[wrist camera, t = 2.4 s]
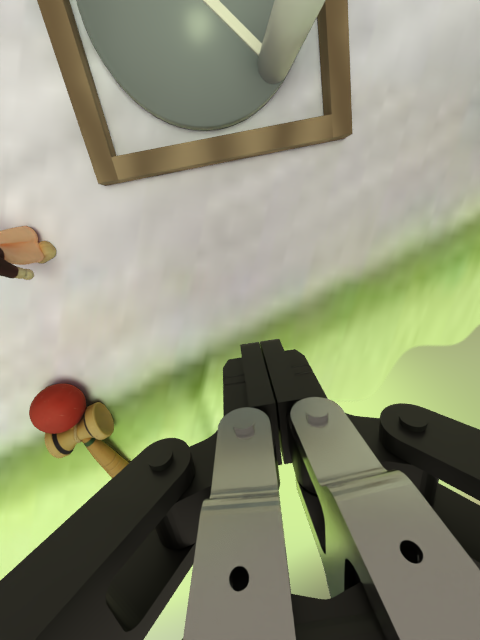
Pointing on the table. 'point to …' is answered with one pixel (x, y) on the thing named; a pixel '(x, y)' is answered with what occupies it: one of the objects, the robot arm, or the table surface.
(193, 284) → the table surface
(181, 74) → the dial
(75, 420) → the kendama
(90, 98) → the dial frame
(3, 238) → the grandmother figurine
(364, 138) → the table surface
